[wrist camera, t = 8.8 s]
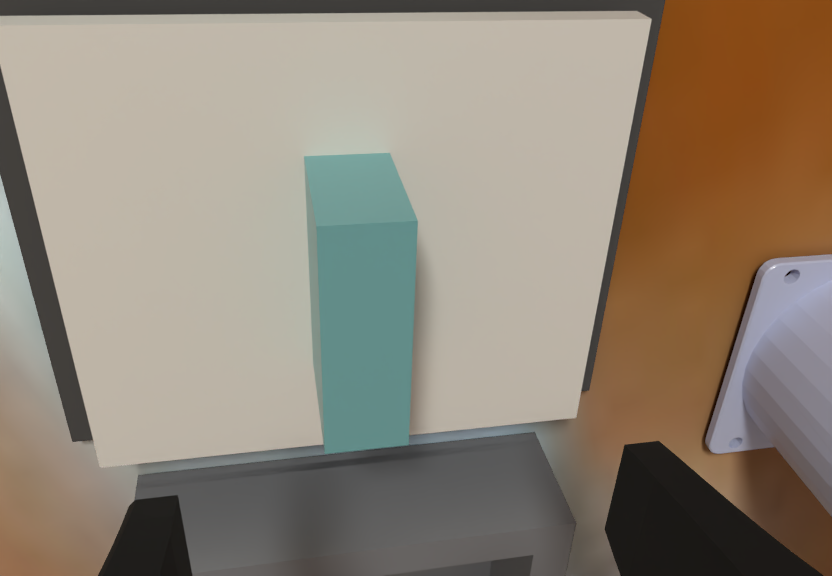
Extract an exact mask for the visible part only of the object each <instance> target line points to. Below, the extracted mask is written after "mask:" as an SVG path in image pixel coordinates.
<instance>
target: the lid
mask: <svg viewBox="0 0 832 576" xmlns="http://www.w3.org/2000/svg"><path fill="white" fill-rule="evenodd" d="M651 20H652V19H651V18H649V17H647V16H645V15H644V14H642V13H640V12H638V11H554V12H428V13H301V14H175V15H48V16H0V67H1V71H2V75H3V79H4V83H5V87H6V91H7V95H8V99H9V103H10V107H11V111H12V115H13V119H14V123H15V127H16V131H17V135H18V139H19V143H20V147H21V151H22V155H23V159H24V163H25V167H26V171H27V175H28V179H29V183H30V187H31V191H32V195H33V199H34V204H35V208H36V212H37V216H38V220H39V224H40V228H41V232H42V236H43V240H44V244H45V248H46V252H47V256H48V260H49V264H50V268H51V272H52V276H53V280H54V284H55V288H56V292H57V296H58V300H59V304H60V308H61V312H62V316H63V320H64V324H65V328H66V332H67V336H68V340H69V345H70V349H71V353H72V357H73V361H74V365H75V369H76V373H77V377H78V381H79V385H80V389H81V393H82V397H83V401H84V405H85V409H86V413H87V417H88V421H89V425H90V429H91V433H92V437H93V441H94V445H95V449H96V453H97V457H98V461H99V465H100V468H103V467H113V466H122V465H132V464H141V463H151V462H160V461H170V460H180V459H189V458H199V457H208V456H218V455H227V454H237V453H246V452H256V451H265V450H275V449H284V448H294V447H303V446H313V445H322V444H324V452H325V454H330V453H339V452H349V451H358V450H367V449H377V448H386V447H395V446H405V445H409V435H417V434H427V433H436V432H446V431H455V430H465V429H474V428H484V427H494V426H503V425H513V424H522V423H532V422H541V421H551V420H560V419H570V418H576V416H577V410H578V405H579V400H580V394H581V389H582V384H583V379H584V373H585V368H586V363H587V358H588V352H589V347H590V342H591V337H592V331H593V326H594V321H595V315H596V310H597V305H598V300H599V294H600V289H601V284H602V279H603V273H604V268H605V263H606V257H607V252H608V247H609V242H610V236H611V231H612V226H613V221H614V215H615V210H616V205H617V200H618V194H619V189H620V184H621V178H622V173H623V168H624V163H625V157H626V152H627V147H628V142H629V136H630V131H631V126H632V121H633V115H634V110H635V105H636V99H637V94H638V89H639V84H640V78H641V73H642V68H643V63H644V57H645V52H646V47H647V42H648V36H649V31H650V26H651Z"/></svg>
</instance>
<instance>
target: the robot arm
mask: <svg viewBox="0 0 832 576" xmlns="http://www.w3.org/2000/svg"><path fill="white" fill-rule="evenodd" d="M791 270H792V271H791ZM789 271H791V273H790V274H789V275H787V276H786V277H785V275H786V274H787V273H788V272H789ZM705 444H706V445H707V447H708V448H709V450H710V451H711V452H713V453H716V454H721V453H729V452H738V451H746V450H754V449H763V448H771V447H775V448H776V449H777V450H778V452H779V453H780V454H781V455H782V457H783V458H784V459H785V460H786V461H787V463H788V464H789V465H790V466H791V468H792V469H793V470H794V471H795V472H796V474H797V475H798V476H799V477H800V479H801V480H802V481H803V482H804V484H805V485H806V486H807V487H808V488H809V490H810V491H811V492H812V493H813V495H814V496H815V497H816V498H817V499H818V501H819V502H820V503H821V504H822V506H823V507H824V508H825V509H826V511H827V512H828V513H829V514H830V515H831V517H832V254H830V255H816V256H802V257H788V258H775V259H771V260H769V261H767V262H765V263H764V264H763V265H762V266H761V267H760V268H759V270H758V272H757V274H756V278H755V281H754V284H753V287H752V291H751V294H750V297H749V300H748V303H747V307H746V310H745V313H744V316H743V320H742V323H741V326H740V329H739V332H738V336H737V339H736V342H735V345H734V349H733V352H732V355H731V358H730V361H729V365H728V368H727V371H726V374H725V378H724V381H723V384H722V387H721V390H720V394H719V397H718V400H717V403H716V407H715V410H714V413H713V416H712V419H711V423H710V426H709V429H708V432H707V436H706V439H705ZM605 531H606V534H607V537H608V540H609V543H610V546H611V549H612V552H613V555H614V558H615V561H616V564H617V566H618V569H619V572H620V575H621V576H823V575H822V574H821V573H819V572H818V571H817V570H815V569H814V568H812V567H811V566H810V565H808V564H807V563H806V562H804V561H803V560H802V559H800V558H799V557H798V556H796V555H795V554H794V553H792V552H791V551H790V550H789V549H787V548H786V547H785V546H783V545H782V544H781V543H780V542H778V541H777V540H776V539H775V538H773V537H772V536H771V535H770V534H768V533H767V532H766V531H765V530H763V529H762V528H761V527H760V526H758V525H757V524H756V523H755V522H754V521H752V520H751V519H750V518H749V517H747V516H746V515H745V514H744V513H743V512H741V511H740V510H739V509H738V508H737V507H735V506H734V505H733V504H732V503H731V502H730V501H728V500H727V499H726V498H725V497H724V496H723V495H721V494H720V493H719V492H718V491H717V490H715V489H714V488H713V487H712V486H711V485H710V484H708V483H707V482H706V481H705V480H704V479H703V478H702V477H700V476H699V475H698V474H697V473H696V472H695V471H693V470H692V469H691V468H690V467H689V466H688V465H686V464H685V463H684V462H683V461H682V460H681V459H679V458H678V457H677V456H676V455H675V454H674V453H672V452H671V451H670V450H669V449H668V448H666V447H665V446H664V445H663V444H662V443H660V442H659V441H655V442H646V443H637V444H628V445H625V446H624V450H623V454H622V458H621V463H620V467H619V471H618V475H617V479H616V484H615V488H614V492H613V496H612V501H611V505H610V509H609V513H608V517H607V522H606V526H605ZM98 576H192V570H191V565H190V559H189V554H188V548H187V543H186V537H185V532H184V526H183V520H182V515H181V509H180V504H179V498H178V495H173V496H164V497H155V498H146V499H137V500H135V501H134V502H133V503H132V504H131V505H130V506H129V508H128V510H127V513H126V515H125V518H124V520H123V523H122V525H121V528H120V530H119V532H118V534H117V537H116V539H115V541H114V543H113V546H112V548H111V550H110V552H109V554H108V556H107V558H106V560H105V562H104V565H103V567H102V569H101V571H100V573H99V575H98Z"/></svg>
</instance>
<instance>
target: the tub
mask: <svg viewBox="0 0 832 576" xmlns="http://www.w3.org/2000/svg"><path fill="white" fill-rule="evenodd" d="M173 495H178V498H179V504H180V509H181V515H182V520H183V526H184V532H185V537H186V543H187V548H188V554H189V559H190V565H191V570H192V576H565V575H566V570H567V565H568V560H569V556H570V551H571V546H572V541H573V536H574V531H575V527H576V521H575V519H574V517H573V515H572V513H571V511H570V508H569V506H568V504H567V502H566V500H565V498H564V495H563V493H562V491H561V489H560V487H559V484H558V482H557V480H556V478H555V476H554V474H553V471H552V469H551V467H550V465H549V463H548V460H547V458H546V456H545V454H544V452H543V450H542V447H541V445H540V443H539V441H538V439H537V437H536V434H535V432H533V433H524V434H515V435H506V436H496V437H487V438H478V439H469V440H459V441H450V442H441V443H432V444H423V445H413V446H404V447H395V448H386V449H376V450H367V451H358V452H349V453H340V454H330V455H321V456H312V457H303V458H293V459H284V460H275V461H266V462H257V463H247V464H238V465H229V466H220V467H210V468H201V469H192V470H183V471H174V472H164V473H155V474H146V475H138V480H137V487H136V494H135V500H137V499H146V498H155V497H164V496H173ZM135 500H134V501H135Z"/></svg>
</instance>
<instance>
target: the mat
mask: <svg viewBox="0 0 832 576" xmlns="http://www.w3.org/2000/svg"><path fill="white" fill-rule="evenodd" d="M664 4H665V0H0V16H48V15H175V14H301V13H428V12H554V11H638V12H640V13H642V14H644V15H645V16H647V17H649V18H651V19H652V20H651V26H650V31H649V36H648V42H647V47H646V52H645V57H644V63H643V68H642V73H641V78H640V84H639V89H638V94H637V99H636V105H635V110H634V115H633V121H632V126H631V131H630V136H629V142H628V147H627V152H626V157H625V163H624V168H623V173H622V178H621V184H620V189H619V194H618V200H617V205H616V210H615V215H614V221H613V226H612V231H611V236H610V242H609V247H608V252H607V257H606V263H605V268H604V273H603V279H602V284H601V289H600V294H599V300H598V305H597V310H596V315H595V321H594V326H593V331H592V337H591V342H590V347H589V352H588V358H587V363H586V368H585V373H584V379H583V384H582V389H581V391H587V390H589V388H590V383H591V378H592V373H593V368H594V362H595V357H596V352H597V347H598V342H599V337H600V332H601V327H602V321H603V316H604V311H605V306H606V301H607V296H608V291H609V286H610V280H611V275H612V270H613V265H614V260H615V255H616V250H617V245H618V239H619V234H620V229H621V224H622V219H623V214H624V209H625V204H626V198H627V193H628V188H629V183H630V178H631V173H632V168H633V163H634V157H635V152H636V147H637V142H638V137H639V132H640V127H641V122H642V116H643V111H644V106H645V101H646V96H647V91H648V86H649V81H650V75H651V70H652V65H653V60H654V55H655V50H656V45H657V40H658V34H659V29H660V24H661V19H662V14H663V9H664ZM0 175H1V178H2V182H3V186H4V190H5V193H6V197H7V201H8V204H9V208H10V212H11V216H12V219H13V223H14V227H15V230H16V234H17V238H18V241H19V245H20V249H21V253H22V256H23V260H24V264H25V267H26V271H27V275H28V279H29V282H30V286H31V290H32V293H33V297H34V301H35V305H36V308H37V312H38V316H39V319H40V323H41V327H42V331H43V334H44V338H45V342H46V345H47V349H48V353H49V357H50V360H51V364H52V368H53V371H54V375H55V379H56V383H57V386H58V390H59V394H60V397H61V401H62V405H63V409H64V412H65V416H66V420H67V423H68V427H69V431H70V434H71V438H72V442H76V441H86V440H93V437H92V433H91V429H90V425H89V421H88V417H87V413H86V409H85V405H84V401H83V397H82V393H81V389H80V385H79V381H78V377H77V373H76V369H75V365H74V361H73V357H72V353H71V349H70V345H69V340H68V336H67V332H66V328H65V324H64V320H63V316H62V312H61V308H60V304H59V300H58V296H57V292H56V288H55V284H54V280H53V276H52V272H51V268H50V264H49V260H48V256H47V252H46V248H45V244H44V240H43V236H42V232H41V228H40V224H39V220H38V216H37V212H36V208H35V204H34V199H33V195H32V191H31V187H30V183H29V179H28V175H27V171H26V167H25V163H24V159H23V155H22V151H21V147H20V143H19V139H18V135H17V131H16V127H15V123H14V119H13V115H12V111H11V107H10V103H9V99H8V95H7V91H6V87H5V83H4V79H3V75H2V71H1V67H0Z"/></svg>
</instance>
